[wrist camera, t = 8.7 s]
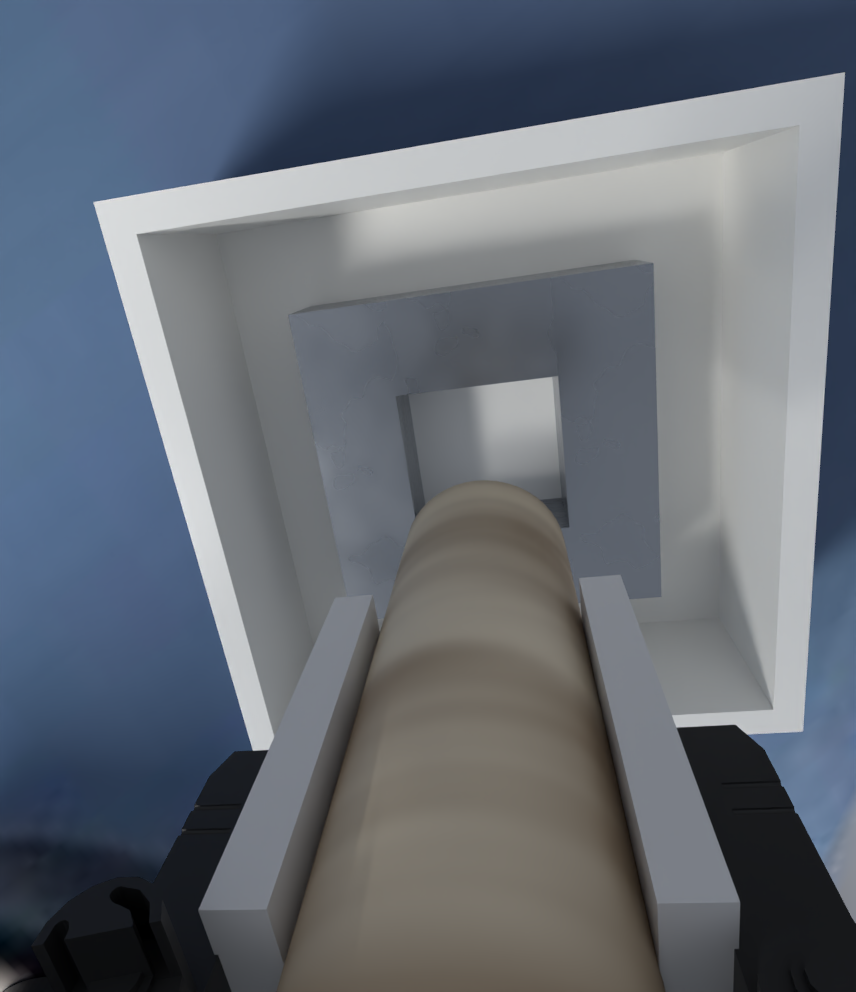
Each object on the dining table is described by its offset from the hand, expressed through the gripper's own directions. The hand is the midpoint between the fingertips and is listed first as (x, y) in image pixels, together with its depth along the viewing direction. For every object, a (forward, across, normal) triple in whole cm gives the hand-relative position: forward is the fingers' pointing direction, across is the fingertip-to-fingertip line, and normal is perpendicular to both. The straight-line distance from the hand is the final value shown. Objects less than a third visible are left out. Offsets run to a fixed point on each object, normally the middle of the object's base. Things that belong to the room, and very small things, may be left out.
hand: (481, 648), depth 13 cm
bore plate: (+16, 0, 0) cm, 16 cm away
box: (+16, 0, 0) cm, 16 cm away
